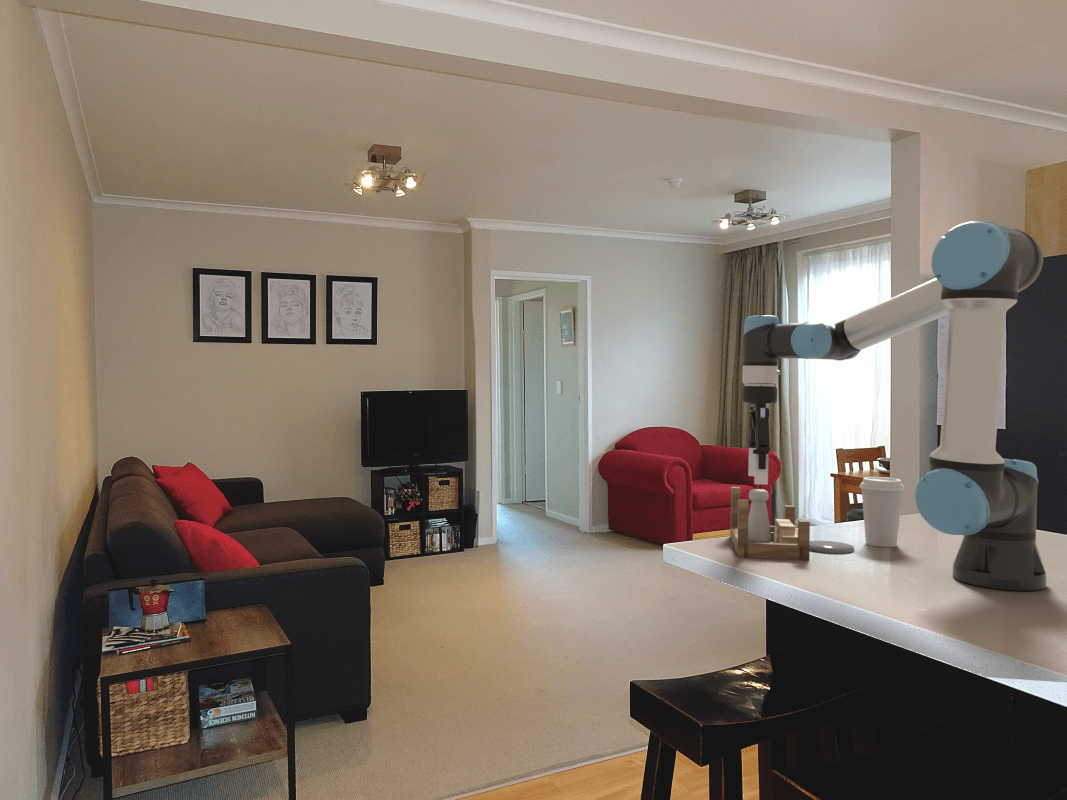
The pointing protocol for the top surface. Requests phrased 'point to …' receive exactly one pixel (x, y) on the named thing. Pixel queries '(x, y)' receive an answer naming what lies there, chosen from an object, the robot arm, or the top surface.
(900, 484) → the coffee cup
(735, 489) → the rack
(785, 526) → the offcut stack
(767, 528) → the salt shaker
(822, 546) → the coaster
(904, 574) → the top surface
